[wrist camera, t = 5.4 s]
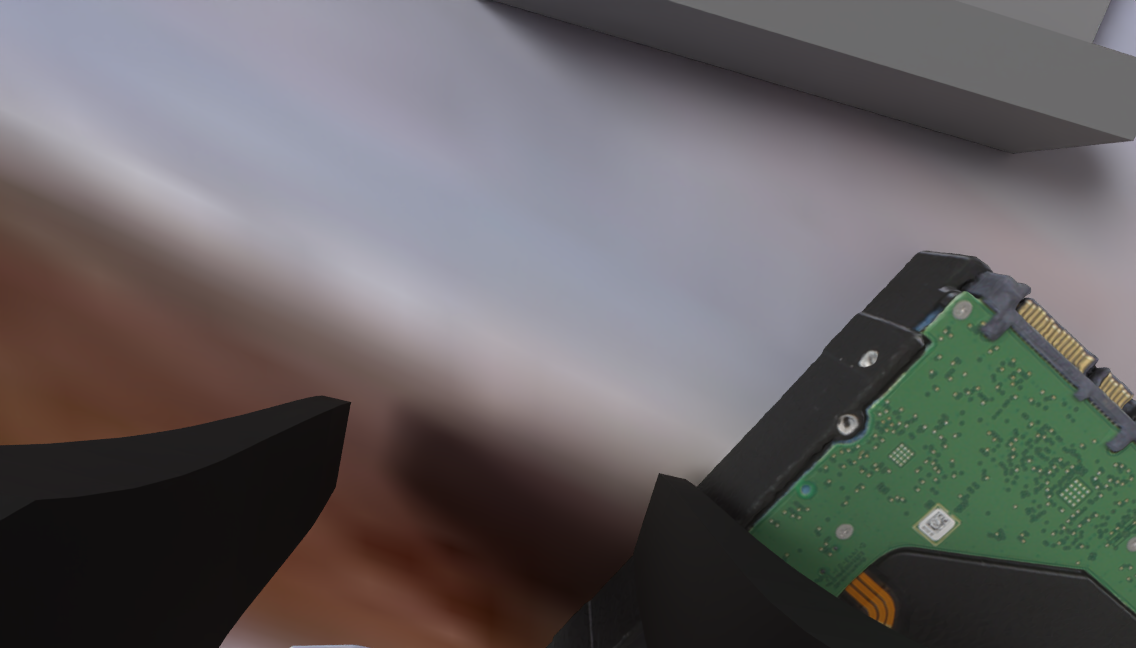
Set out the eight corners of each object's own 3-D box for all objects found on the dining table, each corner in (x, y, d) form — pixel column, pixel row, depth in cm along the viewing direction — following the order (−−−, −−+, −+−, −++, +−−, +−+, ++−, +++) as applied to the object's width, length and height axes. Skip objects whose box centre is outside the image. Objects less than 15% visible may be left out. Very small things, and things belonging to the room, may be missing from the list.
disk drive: (786, 823, 17) (1178, 483, 14) (829, 946, 14) (1327, 553, 11) (518, 655, 15) (904, 235, 12) (509, 756, 12) (999, 247, 10)
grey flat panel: (719, 844, 16) (747, 961, 13) (312, 769, 15) (264, 879, 13) (1242, -386, 10) (1474, -585, 7) (593, -635, 9) (606, -961, 6)
